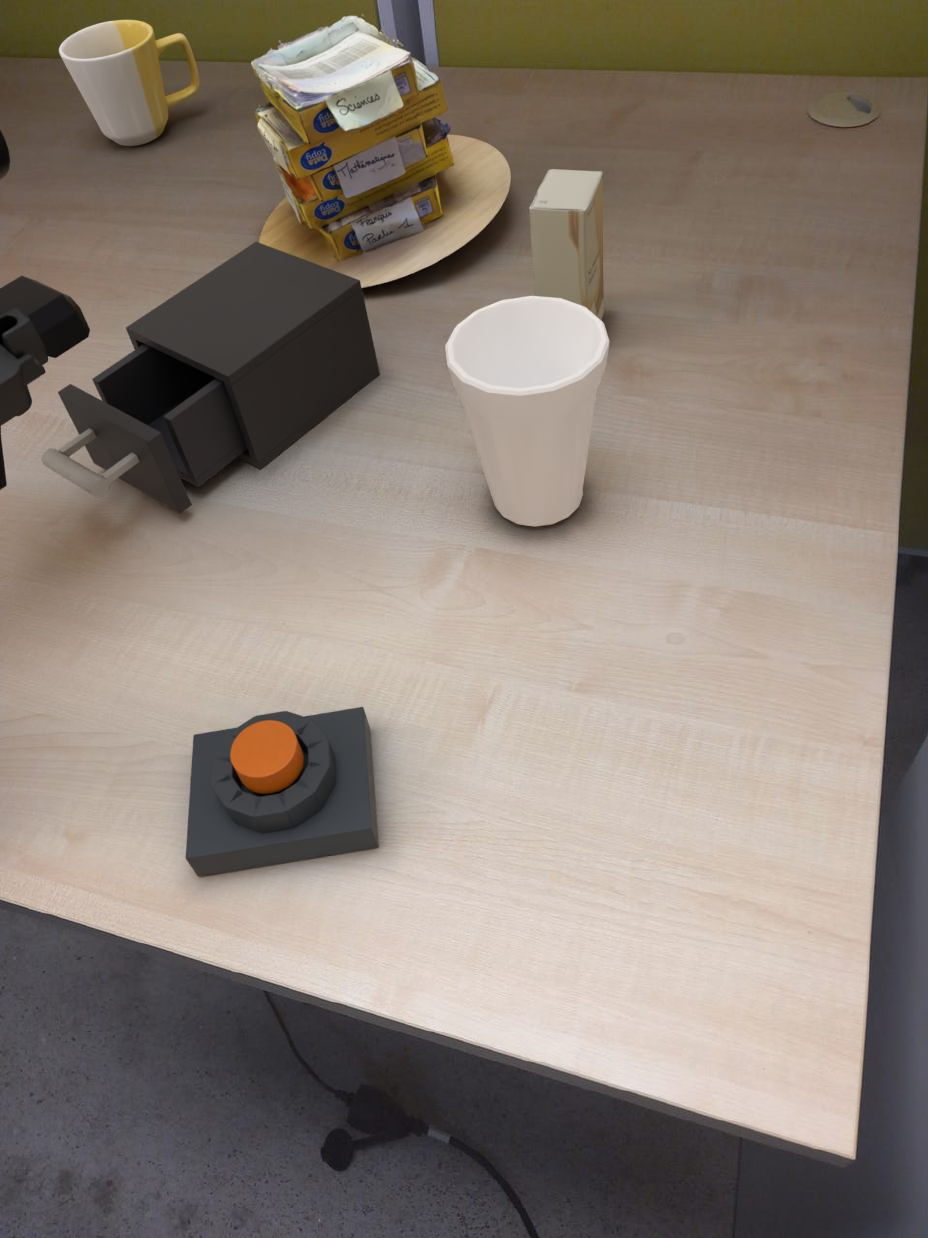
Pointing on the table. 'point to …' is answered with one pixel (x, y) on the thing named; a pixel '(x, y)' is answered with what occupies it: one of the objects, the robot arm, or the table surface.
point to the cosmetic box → (569, 238)
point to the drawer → (150, 428)
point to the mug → (125, 78)
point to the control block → (284, 798)
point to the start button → (267, 756)
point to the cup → (530, 400)
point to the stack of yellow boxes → (369, 157)
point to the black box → (269, 342)
